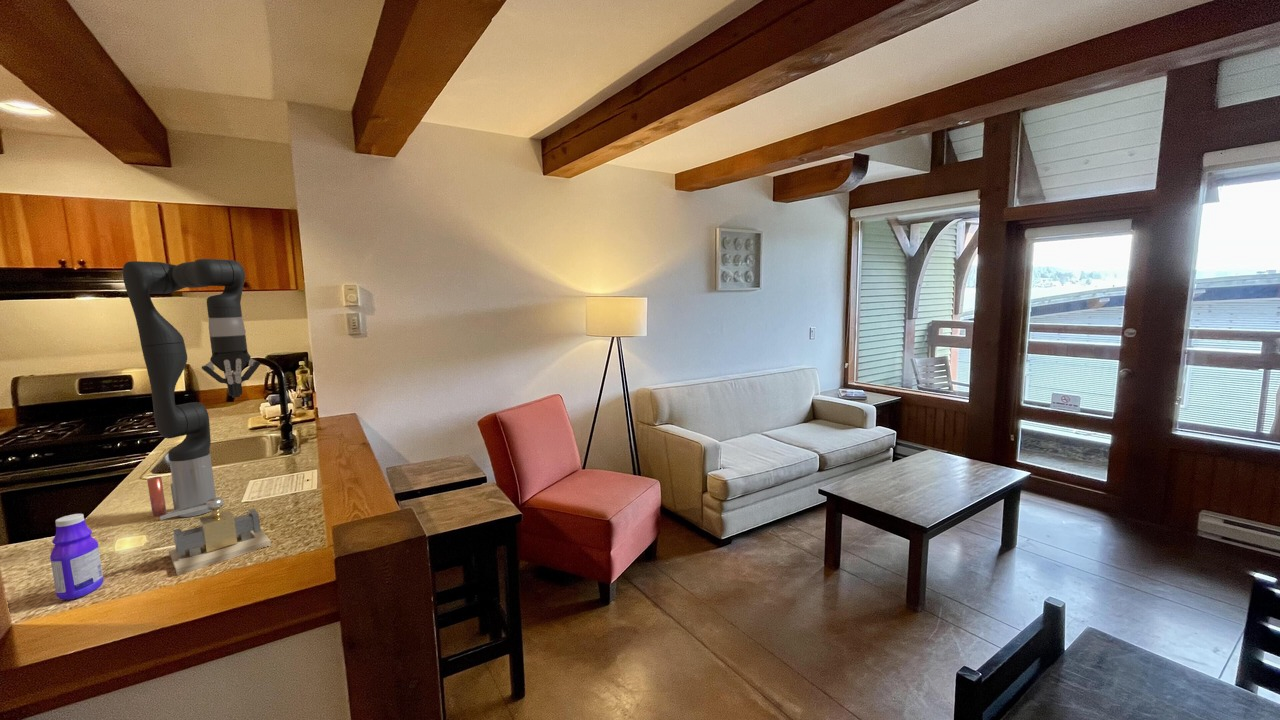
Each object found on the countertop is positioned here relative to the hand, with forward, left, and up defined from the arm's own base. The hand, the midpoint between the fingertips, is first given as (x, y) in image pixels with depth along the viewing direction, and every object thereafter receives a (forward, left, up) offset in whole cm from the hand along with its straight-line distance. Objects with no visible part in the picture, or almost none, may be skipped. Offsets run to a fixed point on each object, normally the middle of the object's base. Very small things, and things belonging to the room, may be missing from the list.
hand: (235, 397), depth 137 cm
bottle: (-7, -34, -37) cm, 51 cm away
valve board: (+6, -14, -37) cm, 40 cm away
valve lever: (+3, -18, -25) cm, 31 cm away
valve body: (+6, -14, -35) cm, 39 cm away
